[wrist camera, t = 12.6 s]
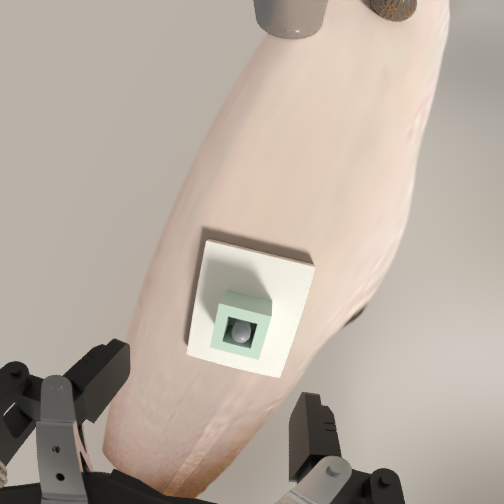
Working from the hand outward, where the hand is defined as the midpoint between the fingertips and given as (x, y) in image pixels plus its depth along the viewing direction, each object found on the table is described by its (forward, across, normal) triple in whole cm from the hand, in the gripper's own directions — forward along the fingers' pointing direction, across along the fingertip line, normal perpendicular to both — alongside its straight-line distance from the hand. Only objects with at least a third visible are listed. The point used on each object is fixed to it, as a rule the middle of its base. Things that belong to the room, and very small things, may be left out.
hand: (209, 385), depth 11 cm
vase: (+24, -11, -42) cm, 50 cm away
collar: (+21, 0, +6) cm, 22 cm away
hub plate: (+22, -1, +7) cm, 23 cm away
